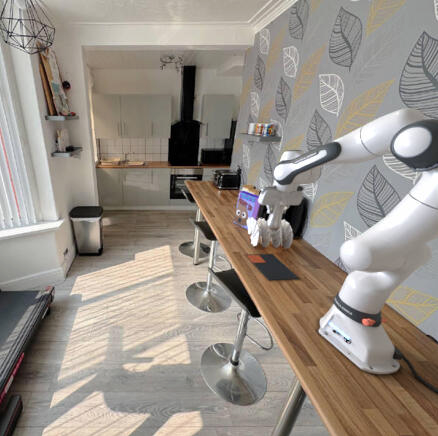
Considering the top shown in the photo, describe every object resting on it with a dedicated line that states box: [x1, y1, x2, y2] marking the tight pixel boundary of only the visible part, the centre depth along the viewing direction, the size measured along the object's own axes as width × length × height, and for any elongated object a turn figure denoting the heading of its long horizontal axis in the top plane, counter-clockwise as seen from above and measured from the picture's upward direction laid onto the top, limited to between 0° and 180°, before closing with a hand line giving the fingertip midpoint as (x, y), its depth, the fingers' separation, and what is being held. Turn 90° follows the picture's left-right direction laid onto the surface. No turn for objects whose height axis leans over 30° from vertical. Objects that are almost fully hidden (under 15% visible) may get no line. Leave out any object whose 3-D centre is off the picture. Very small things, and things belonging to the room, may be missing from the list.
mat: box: [245, 253, 300, 281], centre depth 123 cm, size 22×16×1 cm
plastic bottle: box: [266, 194, 287, 230], centre depth 113 cm, size 6×7×20 cm
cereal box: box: [232, 190, 265, 231], centre depth 163 cm, size 17×5×24 cm, turn 27°
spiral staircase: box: [246, 217, 294, 250], centre depth 140 cm, size 18×18×25 cm
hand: (275, 213), depth 114 cm, fingers closed on plastic bottle, 5 cm apart
